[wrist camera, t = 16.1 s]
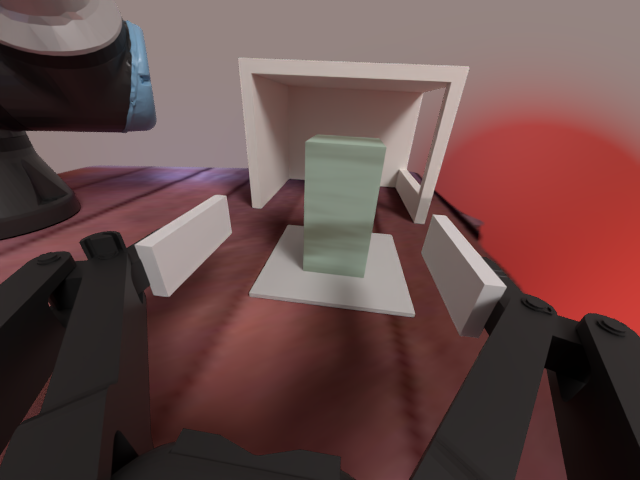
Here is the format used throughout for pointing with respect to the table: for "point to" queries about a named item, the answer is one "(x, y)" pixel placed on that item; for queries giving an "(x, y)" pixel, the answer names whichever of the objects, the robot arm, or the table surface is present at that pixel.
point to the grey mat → (336, 278)
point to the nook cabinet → (343, 118)
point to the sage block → (340, 202)
